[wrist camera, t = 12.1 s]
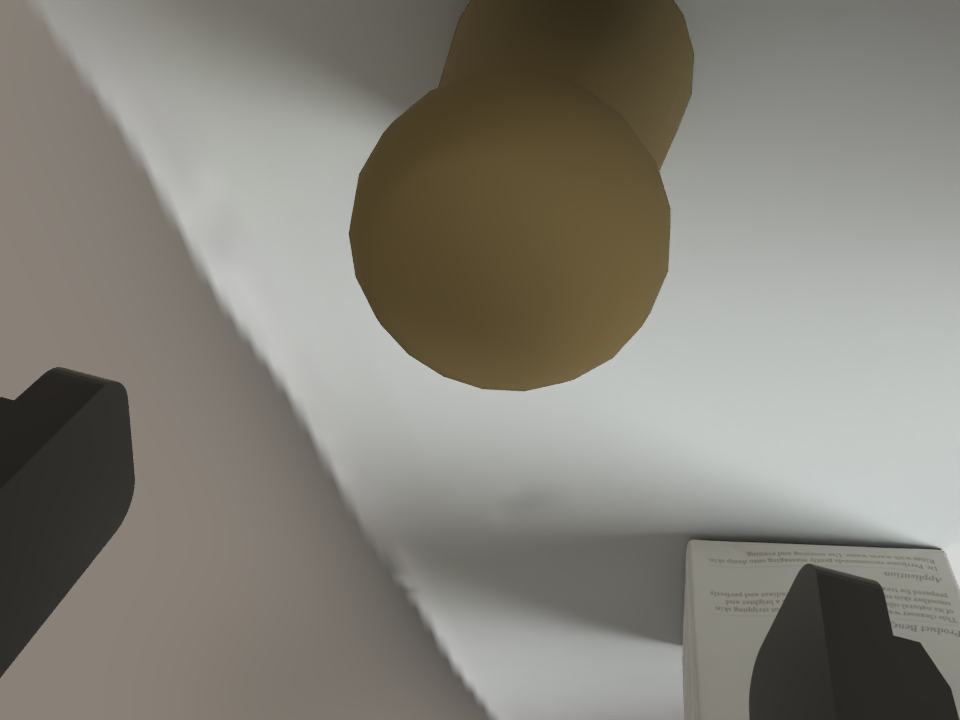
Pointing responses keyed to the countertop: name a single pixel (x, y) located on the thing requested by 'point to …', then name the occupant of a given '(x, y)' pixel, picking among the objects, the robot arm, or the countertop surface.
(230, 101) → the countertop surface
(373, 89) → the countertop surface
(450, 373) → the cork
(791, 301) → the countertop surface
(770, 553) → the skincare box
